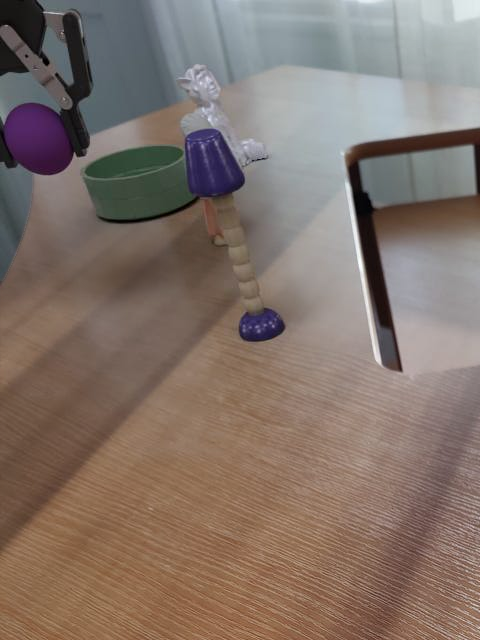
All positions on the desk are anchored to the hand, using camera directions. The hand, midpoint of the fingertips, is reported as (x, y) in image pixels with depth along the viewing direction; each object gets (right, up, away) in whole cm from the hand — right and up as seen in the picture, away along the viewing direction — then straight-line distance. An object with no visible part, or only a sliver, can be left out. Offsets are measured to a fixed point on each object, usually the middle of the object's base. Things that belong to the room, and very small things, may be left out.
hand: (47, 159), depth 78 cm
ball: (0, +1, -1) cm, 2 cm away
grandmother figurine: (+10, +2, +21) cm, 23 cm away
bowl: (-3, +12, +33) cm, 35 cm away
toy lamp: (+18, -15, +3) cm, 24 cm away
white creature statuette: (+4, +21, +41) cm, 46 cm away
